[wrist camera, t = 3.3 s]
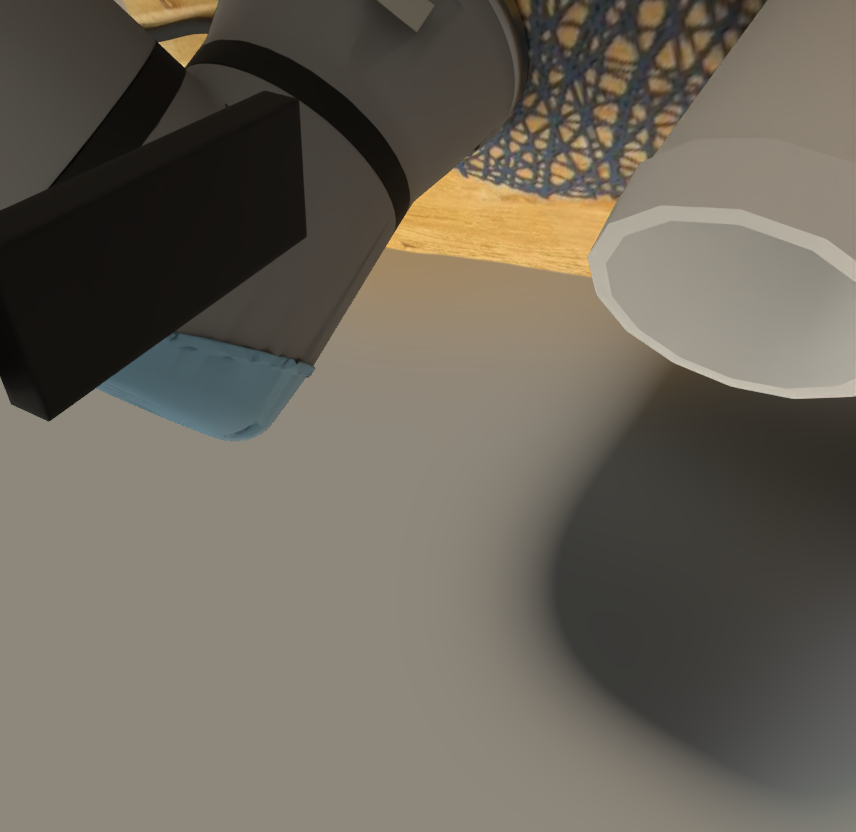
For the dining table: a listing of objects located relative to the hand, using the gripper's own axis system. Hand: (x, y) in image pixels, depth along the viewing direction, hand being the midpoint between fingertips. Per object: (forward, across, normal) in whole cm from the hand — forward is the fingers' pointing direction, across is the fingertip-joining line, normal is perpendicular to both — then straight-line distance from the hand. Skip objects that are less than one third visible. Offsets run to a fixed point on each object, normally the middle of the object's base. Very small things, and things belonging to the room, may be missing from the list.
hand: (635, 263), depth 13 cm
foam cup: (+22, +2, 0) cm, 22 cm away
